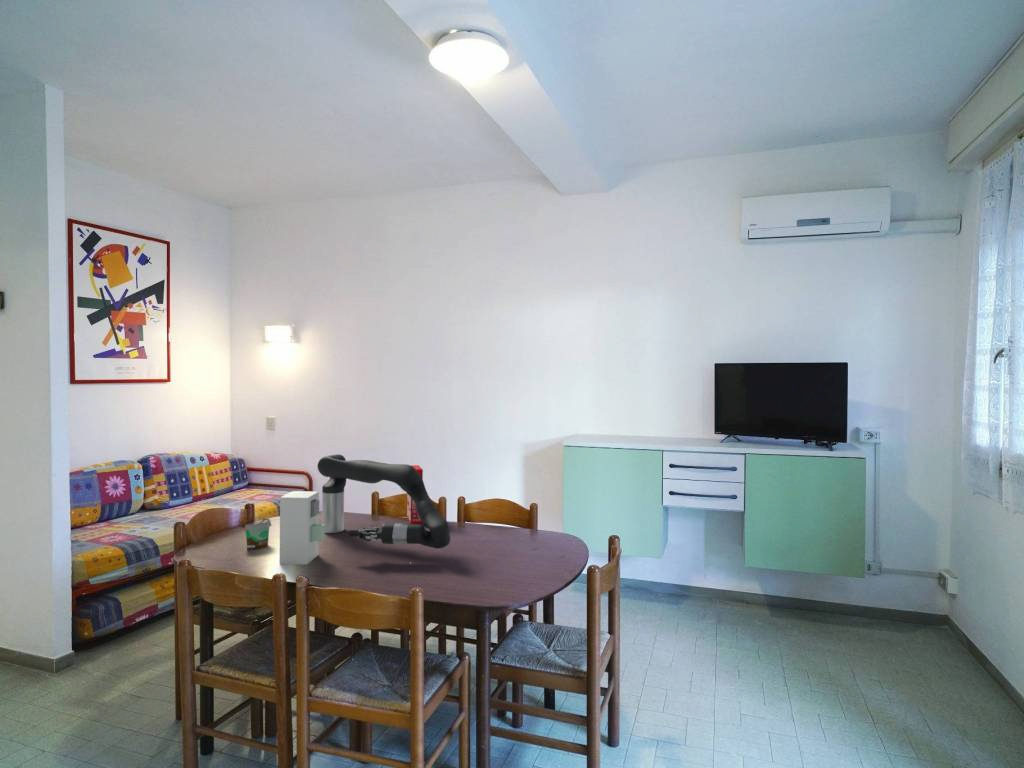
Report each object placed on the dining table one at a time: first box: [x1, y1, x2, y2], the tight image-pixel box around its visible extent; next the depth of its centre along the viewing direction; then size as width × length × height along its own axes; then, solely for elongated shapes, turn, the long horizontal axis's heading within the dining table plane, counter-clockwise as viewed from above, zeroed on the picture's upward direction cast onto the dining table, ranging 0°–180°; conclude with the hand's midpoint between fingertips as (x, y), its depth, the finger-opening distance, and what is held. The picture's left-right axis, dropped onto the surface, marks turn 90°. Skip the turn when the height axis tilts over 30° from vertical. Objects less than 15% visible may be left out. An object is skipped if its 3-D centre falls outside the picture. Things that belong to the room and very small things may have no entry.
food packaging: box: [406, 464, 424, 525], centre depth 289 cm, size 15×5×25 cm, turn 17°
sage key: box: [310, 523, 326, 542], centre depth 224 cm, size 5×6×5 cm
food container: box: [244, 517, 272, 551], centre depth 241 cm, size 12×6×10 cm, turn 168°
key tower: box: [279, 490, 320, 565], centre depth 225 cm, size 12×10×24 cm
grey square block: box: [311, 499, 320, 517], centre depth 224 cm, size 5×6×5 cm
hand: (348, 533), depth 224 cm, fingers closed
